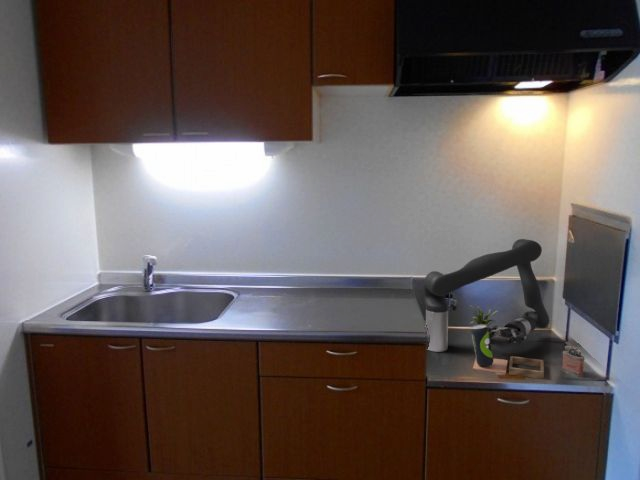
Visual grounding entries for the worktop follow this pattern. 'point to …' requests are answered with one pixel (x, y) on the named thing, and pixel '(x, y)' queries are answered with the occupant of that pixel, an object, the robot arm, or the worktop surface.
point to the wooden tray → (525, 371)
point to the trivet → (493, 366)
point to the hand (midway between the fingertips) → (497, 338)
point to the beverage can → (482, 345)
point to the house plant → (480, 318)
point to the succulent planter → (573, 361)
